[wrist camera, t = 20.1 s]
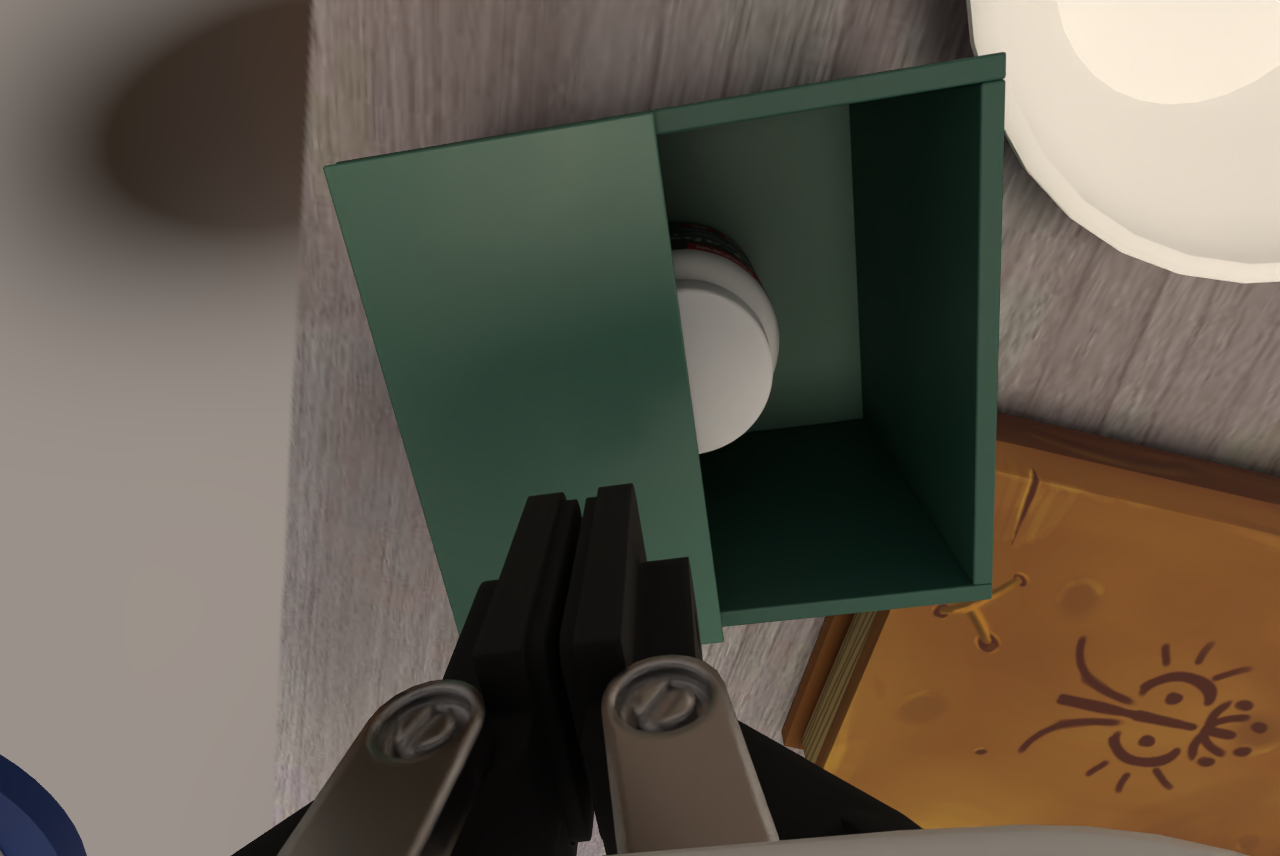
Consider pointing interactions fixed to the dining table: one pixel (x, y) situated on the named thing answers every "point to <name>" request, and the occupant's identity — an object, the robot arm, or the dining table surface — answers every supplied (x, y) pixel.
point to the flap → (531, 337)
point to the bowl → (1149, 123)
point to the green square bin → (856, 333)
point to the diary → (1077, 657)
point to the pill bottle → (723, 333)
